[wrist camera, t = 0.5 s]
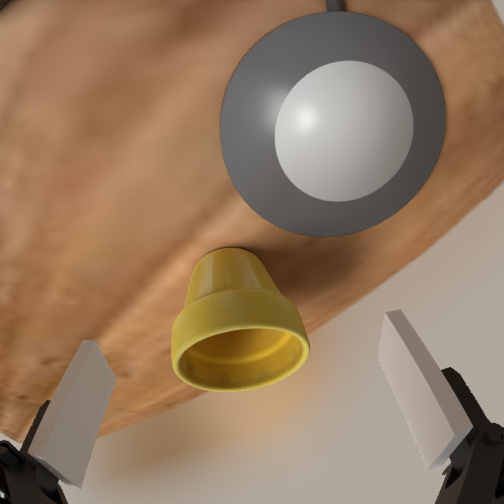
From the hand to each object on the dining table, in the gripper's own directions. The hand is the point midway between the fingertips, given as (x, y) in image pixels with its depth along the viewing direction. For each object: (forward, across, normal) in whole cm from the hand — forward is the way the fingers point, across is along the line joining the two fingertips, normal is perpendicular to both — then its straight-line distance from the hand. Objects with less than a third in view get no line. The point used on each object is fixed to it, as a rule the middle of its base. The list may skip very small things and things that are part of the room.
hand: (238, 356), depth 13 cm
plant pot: (+16, -2, -4) cm, 16 cm away
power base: (+11, +8, +14) cm, 19 cm away
